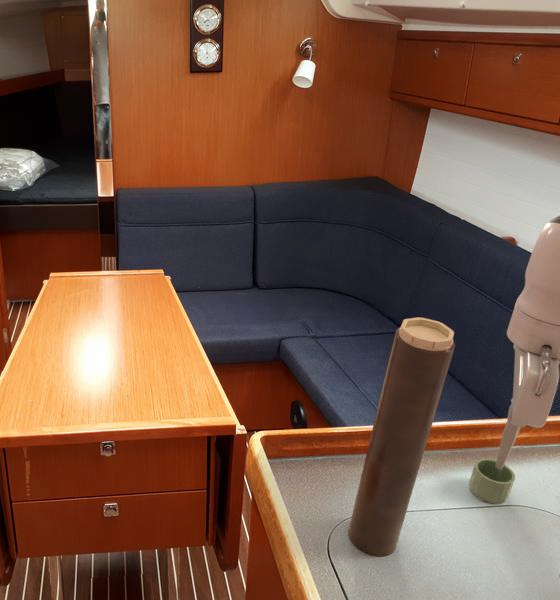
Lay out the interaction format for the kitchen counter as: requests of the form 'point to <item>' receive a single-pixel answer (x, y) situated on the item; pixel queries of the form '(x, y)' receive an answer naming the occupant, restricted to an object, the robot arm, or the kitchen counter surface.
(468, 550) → the kitchen counter surface
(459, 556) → the kitchen counter surface
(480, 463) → the olive short hollow cylinder
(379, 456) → the pedestal
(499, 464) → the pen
